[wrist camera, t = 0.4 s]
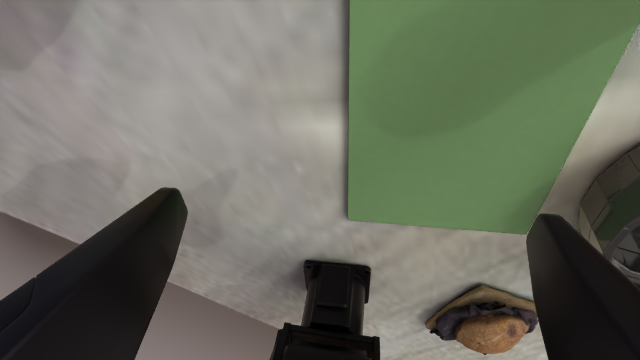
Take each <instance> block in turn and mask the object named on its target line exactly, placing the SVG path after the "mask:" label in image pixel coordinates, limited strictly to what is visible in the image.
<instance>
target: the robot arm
mask: <svg viewBox="0 0 640 360" xmlns="http://www.w3.org/2000/svg"><path fill="white" fill-rule="evenodd" d="M187 215H188V211H187V207H186V205H185V202H184V200H183V198H182V195H181V193H180V191H179V190H178V189H177V188H167V187H164V188H161V189H159V190H157V191H156V192H155V193H153V194H152V195H150V196H149V197H147V198H146V199H145V200H143V201H142V202H140V203H139V204H138V205H136V206H135V207H133V208H132V209H130V210H129V211H128V212H126V213H125V214H123V215H122V216H120V217H119V218H118V219H116V220H115V221H113V222H112V223H111V224H109V225H108V226H106V227H105V228H103V229H102V230H101V231H99V232H98V233H96V234H95V235H94V236H92V237H91V238H89V239H88V240H86V241H85V242H84V243H82V244H81V245H79V246H78V247H76V248H75V249H74V250H72V251H71V252H69V253H68V254H67V255H65V256H64V257H62V258H61V259H59V260H58V261H57V262H55V263H54V264H52V265H51V266H49V267H48V268H47V269H45V270H44V271H42V272H41V273H40V274H38V275H37V276H36V278H32V279H31V280H29V281H28V282H27V283H25V284H24V285H22V286H21V287H19V288H18V289H17V290H15V291H14V292H12V293H11V294H9V295H8V296H6V297H5V298H3V299H2V300H0V360H134V359H135V357H136V354H137V352H138V349H139V347H140V344H141V342H142V340H143V338H144V335H145V333H146V330H147V328H148V326H149V323H150V320H151V318H152V316H153V313H154V311H155V308H156V306H157V304H158V301H159V299H160V297H161V294H162V292H163V289H164V287H165V284H166V282H167V280H168V277H169V275H170V272H171V270H172V267H173V264H174V261H175V258H176V254H177V251H178V247H179V244H180V240H181V237H182V234H183V230H184V227H185V223H186V220H187ZM526 244H527V253H528V260H529V268H530V276H531V284H532V292H533V298H534V304H535V308H536V313H537V317H538V321H539V325H540V328H541V332H542V336H543V340H544V344H545V348H546V352H547V356H548V360H640V289H639V288H638V287H637V286H636V285H635V284H634V283H633V282H632V281H631V280H630V279H629V278H627V277H626V276H625V275H624V274H623V273H622V272H621V271H620V270H619V269H618V268H617V267H616V266H614V265H613V264H612V263H611V262H610V261H609V260H608V259H607V258H606V257H605V256H604V255H603V254H601V253H600V252H599V251H598V250H597V249H596V248H595V247H594V246H593V245H592V244H591V243H590V242H589V241H587V240H586V239H585V238H584V237H583V236H582V235H581V234H580V233H579V232H578V231H577V230H576V229H574V228H573V227H572V226H571V225H570V224H569V223H568V222H567V221H566V220H565V219H564V218H563V217H561V216H560V215H557V214H539V215H538V216H537V218H536V220H535V222H534V224H533V225H532V227H531V229H530V231H529V233H528V235H527V240H526ZM304 273H305V280H306V288H307V296H306V302H305V307H304V313H303V318H302V324H301V326H299V325H292V324H291V323H286V322H285V323H284V327H283V329H280V330H278V333H277V338H276V342H275V346H274V349H273V352H272V355H271V357H270V360H380V337H377V336H373V337H370V336H363V335H362V334H363V318H364V304H366V303H368V299H369V287H370V275H371V268H370V267H368V266H360V265H349V264H339V263H328V262H318V261H305V262H304Z"/></svg>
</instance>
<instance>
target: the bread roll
mask: <svg viewBox="0 0 640 360" xmlns="http://www.w3.org/2000/svg"><path fill="white" fill-rule="evenodd" d="M537 323H538V319H537V313H536V308H535V304H534V302H531V301H528V300H526V299H525V300H524V299H521V298H518V297H515V296H513V295H511V294H508V293H506V292H502V291H497V290H496V289H492V288H489V287H486V286H484V285H481V286H480V287H478V288H476V289H474V290H471V291H469V292H468V293H465V295H463V296H461V297H460V296H459V298H458V299H457V300H456V299H455V300H454V301H453V302H452V303H450V304H449V303H448V305H447V306H446V307H444V308H443V310H441V311H440V312H436V315H435V316H433V318H431V319H430V320H428V322H427V323H426V328H427V329H430V330H431V331H430V333H431V334H432V333H435V334H436V335H438V336H440V338H441V339H442V340H445V341H447V340H457V341H458V342H460V343H462V344H463V345H464V346H466V347H467V348H469V349H472V350H474V351H477V352H480V353H483V354H484V355H486V354H497V353H502V352H506V351H508V350H510V349H511V348H512V347H513V346H514V345H515V344H516V343H517V342H518V341H519V340H520V339H521V338H522V337H523V336H524V334H527V333H531V332H532V331H533V330H534V328H535V326H536V325H537Z"/></svg>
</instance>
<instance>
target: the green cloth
mask: <svg viewBox="0 0 640 360" xmlns="http://www.w3.org/2000/svg"><path fill="white" fill-rule="evenodd" d="M639 23H640V0H349V115H348V220H351V221H364V222H376V223H389V224H401V225H414V226H427V227H439V228H452V229H464V230H477V231H489V232H502V233H514V234H527V232H528V230H529V228H530V227H531V225H532V223H533V221H534V219H535V217H536V215H537V213H538V212H539V210H540V208H541V206H542V204H543V202H544V200H545V198H546V197H547V195H548V193H549V191H550V189H551V187H552V185H553V184H554V182H555V180H556V178H557V176H558V174H559V172H560V170H561V169H562V167H563V165H564V163H565V161H566V159H567V157H568V156H569V154H570V152H571V150H572V148H573V146H574V144H575V142H576V141H577V139H578V137H579V135H580V133H581V131H582V129H583V128H584V126H585V124H586V122H587V120H588V118H589V116H590V114H591V113H592V111H593V109H594V107H595V105H596V103H597V101H598V99H599V98H600V96H601V94H602V92H603V90H604V88H605V86H606V85H607V83H608V81H609V79H610V77H611V75H612V73H613V71H614V70H615V68H616V66H617V64H618V62H619V60H620V58H621V57H622V55H623V53H624V51H625V49H626V47H627V45H628V43H629V42H630V40H631V38H632V36H633V34H634V32H635V30H636V29H637V27H638V25H639Z"/></svg>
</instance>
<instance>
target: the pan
mask: <svg viewBox="0 0 640 360" xmlns="http://www.w3.org/2000/svg"><path fill="white" fill-rule="evenodd" d="M578 227H579V229H580V231H581V233H582V236H583V237H584V238H585V239H586V240H587V241H589V242H590V243H591V244H592V245H593V246H594V247H595V248H596V249H597V250H598V251H599V252H600V253H601V254H603V255H604V256H605V257H606V258H607V259H608V260H609V261H610V262H611V263H612V264H613V265H614V266H616V267H617V268H618V269H619V270H620V271H621V272H622V273H623V274H624V275H625V276H626V277H627V278H629V279H630V280H631V281H632V282H633V283H634V284H635V285H636V286H637V287H638V288H639V289H640V146H638V147H636V148H634V149H633V150H631V151H629V152H628V153H626V154H625V155H623V156H622V157H621V158H620V159H619V160H618V161H616V162H615V163H614V164H613V165H612V166H611V167H609V168H608V169H607V170H606V171H605V172H604V173H602V174H601V175H600V176H599V177H598V178H597V179H596V180H595V181H594V183H593V184H592V186H591V188H590V189H589V191H588V192H587V194H586V195H585V197H584V198H583V200H582V202H581V204H580V211H579V220H578Z"/></svg>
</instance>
